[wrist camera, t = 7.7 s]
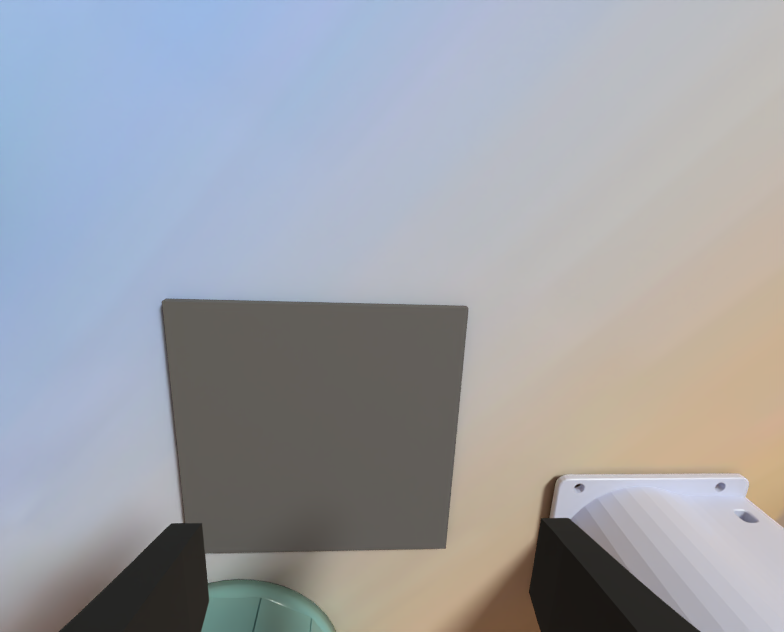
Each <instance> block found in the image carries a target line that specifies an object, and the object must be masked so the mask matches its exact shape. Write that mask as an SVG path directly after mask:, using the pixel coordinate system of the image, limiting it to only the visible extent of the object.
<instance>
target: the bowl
mask: <svg viewBox="0 0 784 632" xmlns="http://www.w3.org/2000/svg"><path fill="white" fill-rule="evenodd" d="M208 592H209V604H208V608H207V611H206V615H205V619H204V623H203V626H202V630H201V632H336V630H335V628H334V626H333V624H332V623H331V621H330V620H329V618H328V617H327V615H326V614H325V613H324V612H323V611H322V610H321V609H320V608H319V607H318V606H317V605H316V604H314V603H313V602H312V601H311V600H309V599H308V598H306V597H305V596H303V595H301V594H299V593H297V592H295V591H293V590H291V589H289V588H286V587H283V586H280V585H277V584H273V583H269V582H264V581H256V580H238V579H237V580H224V581H218V582H213V583H208Z"/></svg>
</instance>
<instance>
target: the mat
mask: <svg viewBox="0 0 784 632" xmlns="http://www.w3.org/2000/svg"><path fill="white" fill-rule="evenodd" d="M162 308H163V317H164V327H165V336H166V346H167V355H168V365H169V374H170V384H171V393H172V403H173V412H174V422H175V431H176V440H177V450H178V459H179V469H180V478H181V488H182V497H183V507H184V516H185V523H202V528H203V538H204V549H205V553H242V552H293V551H344V550H395V549H446V539H447V529H448V518H449V508H450V497H451V487H452V476H453V466H454V455H455V444H456V434H457V423H458V413H459V402H460V392H461V381H462V371H463V360H464V350H465V339H466V329H467V318H468V307H467V306H447V305H406V304H364V303H323V302H281V301H240V300H198V299H165V300H163V301H162Z"/></svg>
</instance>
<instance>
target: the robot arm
mask: <svg viewBox="0 0 784 632" xmlns="http://www.w3.org/2000/svg"><path fill="white" fill-rule="evenodd" d="M577 484H580V485H579V486H578V487H575V486H576V485H577ZM574 487H575V488H574ZM748 487H749V482H748V480H747V479H746V478H745V477H743V476H742V475H741V474H737V473H734V474H578V475H563V476H561V477H559V478H558V479H557V481H556V483H555V489H554V495H553V500H552V506H551V512H550V518H541V523H540V529H539V535H538V541H537V547H536V553H535V560H534V566H533V572H532V578H531V584H530V590H529V593H530V597H531V600H532V604H533V607H534V611H535V614H536V617H537V621H538V624H539V627H540V630H541V632H784V528H783V527H782V526H780V525H779V524H778V523H777V522H776V521H774V520H773V519H772V518H771V517H769V516H768V515H767V514H766V513H764V512H763V511H762V510H761V509H759V508H758V507H757V506H756V505H755V504H753V503H752V502H751V501H750V500H748V499H747V498H746V493H747V490H748ZM208 604H209V592H208V582H207V571H206V560H205V549H204V538H203V528H202V523H174V524H171V525H169V526H168V527H167V528H166V529H165V530H164V531H163V532H162V533H161V534H160V535H159V536H158V537H157V538H156V539H155V540H154V541H153V542H152V543H151V544H150V545H149V546H148V547H147V548H146V549H145V550H144V551H143V552H142V553H141V554H140V555H139V556H138V557H137V558H136V559H135V560H134V561H133V562H132V563H131V564H130V565H129V566H128V567H127V568H125V569H124V570H123V571H122V572H121V573H120V574H119V575H118V576H117V577H116V578H115V579H114V580H113V581H112V582H111V583H110V584H109V585H108V586H107V587H106V588H105V589H104V590H103V591H102V592H101V593H100V594H99V595H98V596H97V597H95V598H94V599H93V600H92V601H91V602H90V603H89V604H88V605H87V606H86V607H85V608H84V609H83V610H82V611H81V612H80V613H79V614H78V615H77V616H75V617H74V618H73V619H72V620H71V621H70V622H69V623H68V624H67V625H66V626H65V627H64V628H62V629H61V630H60V631H59V632H201V630H202V626H203V623H204V619H205V615H206V611H207V608H208Z"/></svg>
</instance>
